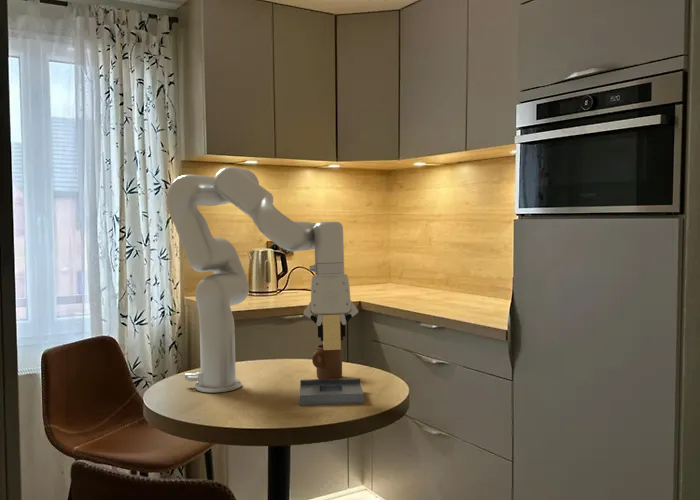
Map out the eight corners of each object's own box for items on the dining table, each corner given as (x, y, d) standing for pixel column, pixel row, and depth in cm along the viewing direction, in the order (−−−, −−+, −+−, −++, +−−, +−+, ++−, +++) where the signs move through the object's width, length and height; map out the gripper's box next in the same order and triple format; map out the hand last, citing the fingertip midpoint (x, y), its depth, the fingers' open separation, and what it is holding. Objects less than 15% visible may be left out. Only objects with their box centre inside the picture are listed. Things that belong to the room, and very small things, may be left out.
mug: (324, 385, 175) (324, 352, 175) (302, 382, 179) (302, 349, 179) (347, 376, 186) (346, 345, 185) (325, 373, 190) (325, 342, 189)
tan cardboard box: (323, 350, 159) (322, 315, 159) (323, 347, 164) (322, 312, 164) (340, 349, 160) (339, 314, 159) (340, 346, 164) (339, 312, 164)
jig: (299, 405, 156) (299, 391, 156) (300, 392, 168) (300, 379, 168) (363, 403, 157) (363, 389, 157) (359, 391, 169) (359, 378, 169)
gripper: (296, 271, 157) (298, 343, 158) (363, 269, 158) (365, 341, 159) (297, 269, 164) (299, 338, 165) (361, 267, 166) (363, 336, 166)
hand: (331, 339), depth 162 cm, fingers closed on tan cardboard box, 4 cm apart
